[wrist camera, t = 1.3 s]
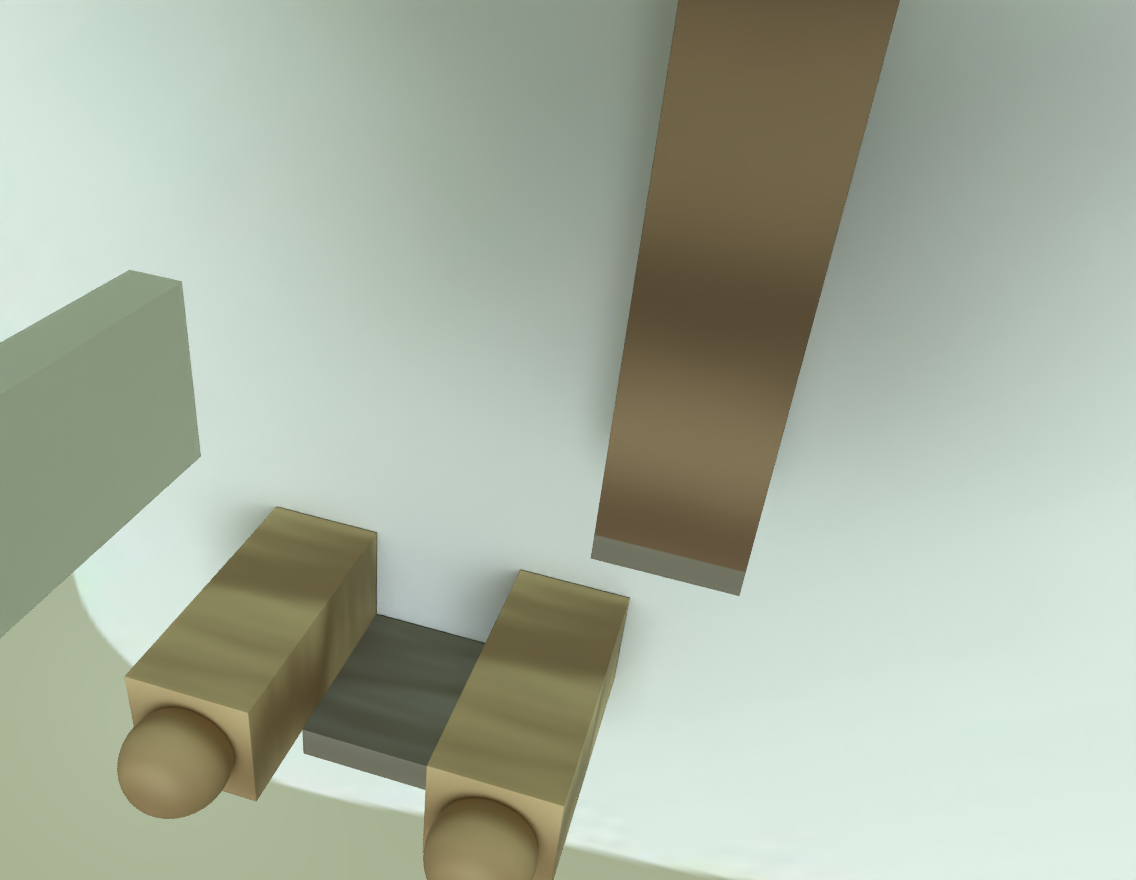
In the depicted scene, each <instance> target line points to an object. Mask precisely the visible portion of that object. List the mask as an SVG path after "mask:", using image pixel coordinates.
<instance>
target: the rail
mask: <svg viewBox="0 0 1136 880" xmlns="http://www.w3.org/2000/svg"><path fill="white" fill-rule="evenodd" d="M899 2H900V0H679V1H678V8H677V14H676V20H675V27H674V33H673V39H672V46H671V52H670V59H669V65H668V71H667V78H666V84H665V90H664V97H663V103H662V109H661V116H660V122H659V128H658V135H657V141H656V148H655V154H654V160H653V167H652V173H651V179H650V186H649V192H648V198H647V205H646V211H645V217H644V224H643V230H642V236H641V243H640V249H639V256H638V262H637V268H636V275H635V281H634V287H633V294H632V300H631V306H630V313H629V319H628V325H627V332H626V338H625V345H624V351H623V357H622V364H621V370H620V376H619V383H618V389H617V395H616V402H615V408H614V414H613V421H612V427H611V434H610V440H609V446H608V453H607V459H606V465H605V472H604V478H603V484H602V491H601V497H600V503H599V510H598V516H597V523H596V529H595V535H594V542H593V548H592V554H591V558H592V559H596V560H599V561H603V562H607V563H611V564H615V565H619V566H623V567H627V568H631V569H635V570H639V571H643V572H647V573H651V574H655V575H659V576H663V577H666V578H670V579H674V580H678V581H682V582H686V583H690V584H694V585H698V586H702V587H706V588H710V589H714V590H718V591H722V592H726V593H730V594H734V595H737V596H739V595H740V591H741V587H742V584H743V580H744V576H745V573H746V569H747V565H748V562H749V558H750V554H751V550H752V547H753V543H754V539H755V536H756V532H757V528H758V524H759V521H760V517H761V513H762V510H763V506H764V502H765V499H766V495H767V491H768V487H769V484H770V480H771V476H772V473H773V469H774V465H775V461H776V458H777V454H778V450H779V447H780V443H781V439H782V435H783V432H784V428H785V424H786V421H787V417H788V413H789V410H790V406H791V402H792V398H793V395H794V391H795V387H796V384H797V380H798V376H799V372H800V369H801V365H802V361H803V358H804V354H805V350H806V347H807V343H808V339H809V335H810V332H811V328H812V324H813V321H814V317H815V313H816V309H817V306H818V302H819V298H820V295H821V291H822V287H823V284H824V280H825V276H826V272H827V269H828V265H829V261H830V258H831V254H832V250H833V246H834V243H835V239H836V235H837V232H838V228H839V224H840V220H841V217H842V213H843V209H844V206H845V202H846V198H847V195H848V191H849V187H850V183H851V180H852V176H853V172H854V169H855V165H856V161H857V157H858V154H859V150H860V146H861V143H862V139H863V135H864V132H865V128H866V124H867V120H868V117H869V113H870V109H871V106H872V102H873V98H874V94H875V91H876V87H877V83H878V80H879V76H880V72H881V69H882V65H883V61H884V57H885V54H886V50H887V46H888V43H889V39H890V35H891V31H892V28H893V24H894V20H895V17H896V13H897V9H898V5H899Z"/></svg>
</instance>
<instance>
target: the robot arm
mask: <svg viewBox="0 0 1136 880" xmlns="http://www.w3.org/2000/svg"><path fill="white" fill-rule="evenodd" d="M199 457H201V454H200V444H199V435H198V426H197V417H196V408H195V398H194V389H193V380H192V371H191V361H190V352H189V343H188V334H187V325H186V315H185V306H184V297H183V288H182V281H178V280H173V279H169V278H164V277H160V276H155V275H151V274H146V273H141V272H137V271H132V270H128V271H127V272H125V273H123V274H121V275H120V276H118V277H116V278H114V279H113V280H111V281H109V282H107V283H105V284H104V285H102V286H100V287H98V288H97V289H95V290H93V291H91V292H89V293H88V294H86V295H84V296H82V297H81V298H79V299H77V300H75V301H74V302H72V303H70V304H68V305H66V306H65V307H63V308H61V309H59V310H58V311H56V312H54V313H52V314H50V315H49V316H47V317H45V318H43V319H42V320H40V321H38V322H36V323H35V324H33V325H31V326H29V327H27V328H26V329H24V330H22V331H20V332H19V333H17V334H15V335H13V336H11V337H10V338H8V339H6V340H4V341H3V342H1V343H0V638H1V637H2V636H3V635H4V634H5V633H6V632H8V631H9V630H10V629H11V628H12V627H13V626H14V625H15V624H16V623H17V622H19V620H21V619H22V618H23V617H24V616H25V615H26V614H28V613H29V612H30V611H31V610H32V609H33V608H34V607H35V606H36V605H37V604H39V603H40V602H41V601H42V600H43V599H44V598H45V597H46V596H47V595H48V594H49V593H51V592H52V591H53V590H54V589H55V588H56V587H57V586H58V585H59V584H61V583H62V582H63V581H64V580H65V579H66V578H67V577H68V576H69V575H70V574H72V573H73V572H74V571H75V570H76V569H77V568H78V567H79V566H80V565H82V564H83V563H84V562H85V561H86V560H87V559H88V558H89V557H90V556H91V555H93V554H94V553H95V552H96V551H97V550H98V549H99V548H100V547H101V546H102V545H104V544H105V543H106V542H107V541H108V540H109V539H110V538H111V537H112V536H113V535H115V534H116V533H117V532H118V531H119V530H120V529H121V528H122V527H123V526H124V525H126V524H127V523H128V522H129V521H130V520H131V519H132V518H133V517H134V516H136V515H137V514H138V513H139V512H140V511H141V510H142V509H143V508H144V507H145V506H147V505H148V504H149V503H150V502H151V501H152V500H153V499H154V498H155V497H156V496H158V495H159V494H160V493H161V492H162V491H163V490H164V489H165V488H166V487H167V486H169V485H170V484H171V483H172V482H173V481H174V480H175V479H176V478H177V477H178V476H180V475H181V474H182V473H183V472H184V471H185V470H186V469H187V468H188V467H190V466H191V465H192V464H193V463H194V462H195V461H196V460H197V459H198V458H199Z"/></svg>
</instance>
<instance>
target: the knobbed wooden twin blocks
mask: <svg viewBox="0 0 1136 880" xmlns="http://www.w3.org/2000/svg"><path fill="white" fill-rule="evenodd" d="M376 581H377V533H375V532H371V531H367V530H364V529H360V528H356V527H352V526H348V525H344V524H340V523H336V522H333V521H329V520H325V519H321V518H317V517H313V516H309V515H306V514H302V513H298V512H294V511H290V510H286V509H282V508H278V507H276V508H275V509H274V510H273V511H272V513H271V514H270V515H269V516H268V517H267V518H266V519H265V520H264V521H263V523H262V524H261V525H260V526H259V527H258V528H257V529H256V530H255V532H254V533H253V534H252V535H251V536H250V537H249V538H248V539H247V540H246V542H245V543H244V544H243V545H242V546H241V547H240V548H239V549H238V550H237V552H236V553H235V554H234V555H233V556H232V557H231V558H230V559H229V561H228V562H227V563H226V564H225V565H224V566H223V567H222V568H221V569H220V571H219V572H218V573H217V574H216V575H215V576H214V577H213V578H212V579H211V581H210V582H209V583H208V584H207V585H206V586H205V587H204V588H203V590H202V591H201V592H200V593H199V594H198V595H197V596H196V597H195V598H194V600H193V601H192V602H191V603H190V604H189V605H188V606H187V607H186V608H185V610H184V611H183V612H182V613H181V614H180V615H179V616H178V617H177V619H176V620H175V621H174V622H173V623H172V624H171V625H170V626H169V627H168V629H167V630H166V631H165V632H164V633H163V634H162V635H161V636H160V637H159V639H158V640H157V641H156V642H155V643H154V644H153V645H152V646H151V647H150V649H149V650H148V651H147V652H146V653H145V654H144V655H143V656H142V658H141V659H140V660H139V661H138V662H137V663H136V664H135V665H134V666H133V668H132V669H131V670H130V671H129V672H128V673H127V674H126V675H125V682H126V687H127V692H128V697H129V703H130V708H131V713H132V719H133V724H134V728H133V729H132V730H131V732H130V733H129V734H128V735H127V737H126V739H125V741H124V743H123V745H122V747H121V750H120V753H119V758H118V768H117V772H118V779H119V783H120V786H121V789H122V791H123V793H124V794H125V796H126V798H127V799H128V800H129V802H130V803H131V804H132V805H133V806H134V807H136V808H137V809H138V810H140V811H142V812H143V813H145V814H147V815H150V816H153V817H157V818H164V819H174V818H181V817H185V816H188V815H191V814H194V813H196V812H198V811H200V810H201V809H203V808H205V807H206V806H207V805H209V804H210V803H211V802H212V801H213V800H214V799H215V798H216V797H217V796H218V795H219V793H221V791H224V792H228V793H231V794H234V795H237V796H241V797H244V798H247V799H250V800H254V801H257V800H258V798H259V797H260V795H261V793H262V792H263V790H264V789H265V787H266V786H267V784H268V783H269V781H270V779H271V778H272V776H273V775H274V773H275V772H276V770H277V769H278V767H279V765H280V764H281V762H282V761H283V759H284V758H285V756H286V754H287V753H288V751H289V750H290V748H291V747H292V745H293V744H294V742H295V740H296V739H297V737H298V736H299V734H300V733H301V731H303V750H304V754H308V755H311V756H314V757H318V758H321V759H324V760H328V761H331V762H334V763H338V764H341V765H344V766H348V767H351V768H354V769H358V770H361V771H364V772H368V773H371V774H374V775H378V776H381V777H384V778H388V779H391V780H394V781H398V782H401V783H404V784H408V785H411V786H414V787H418V788H421V789H424V790H426V794H425V814H424V834H423V853H424V855H423V861H424V870H425V874H426V878H427V880H554V876H555V873H556V870H557V866H558V863H559V860H560V856H561V853H562V850H563V846H564V843H565V840H566V837H567V833H568V830H569V827H570V823H571V820H572V817H573V814H574V810H575V807H576V804H577V800H578V797H579V794H580V790H581V787H582V784H583V780H584V777H585V774H586V771H587V767H588V764H589V761H590V757H591V754H592V751H593V747H594V744H595V741H596V738H597V734H598V731H599V728H600V724H601V721H602V718H603V714H604V711H605V708H606V705H607V701H608V698H609V695H610V691H611V688H612V685H613V681H614V678H615V672H616V667H617V662H618V657H619V651H620V646H621V641H622V636H623V631H624V625H625V620H626V615H627V610H628V604H629V599H630V598H627V597H623V596H619V595H615V594H611V593H607V592H604V591H600V590H596V589H592V588H588V587H584V586H580V585H576V584H573V583H569V582H565V581H561V580H557V579H553V578H549V577H545V576H542V575H538V574H534V573H530V572H526V571H522V570H520V572H519V574H518V577H517V579H516V581H515V583H514V585H513V587H512V589H511V591H510V593H509V595H508V597H507V599H506V602H505V604H504V606H503V608H502V610H501V612H500V614H499V616H498V618H497V620H496V622H495V625H494V627H493V629H492V631H491V633H490V635H489V637H488V639H487V641H486V643H485V644H484V643H480V642H477V641H473V640H469V639H466V638H462V637H458V636H455V635H451V634H447V633H444V632H440V631H436V630H433V629H429V628H425V627H422V626H418V625H414V624H411V623H407V622H403V621H400V620H396V619H392V618H389V617H385V616H381V615H378V614H376Z"/></svg>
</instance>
